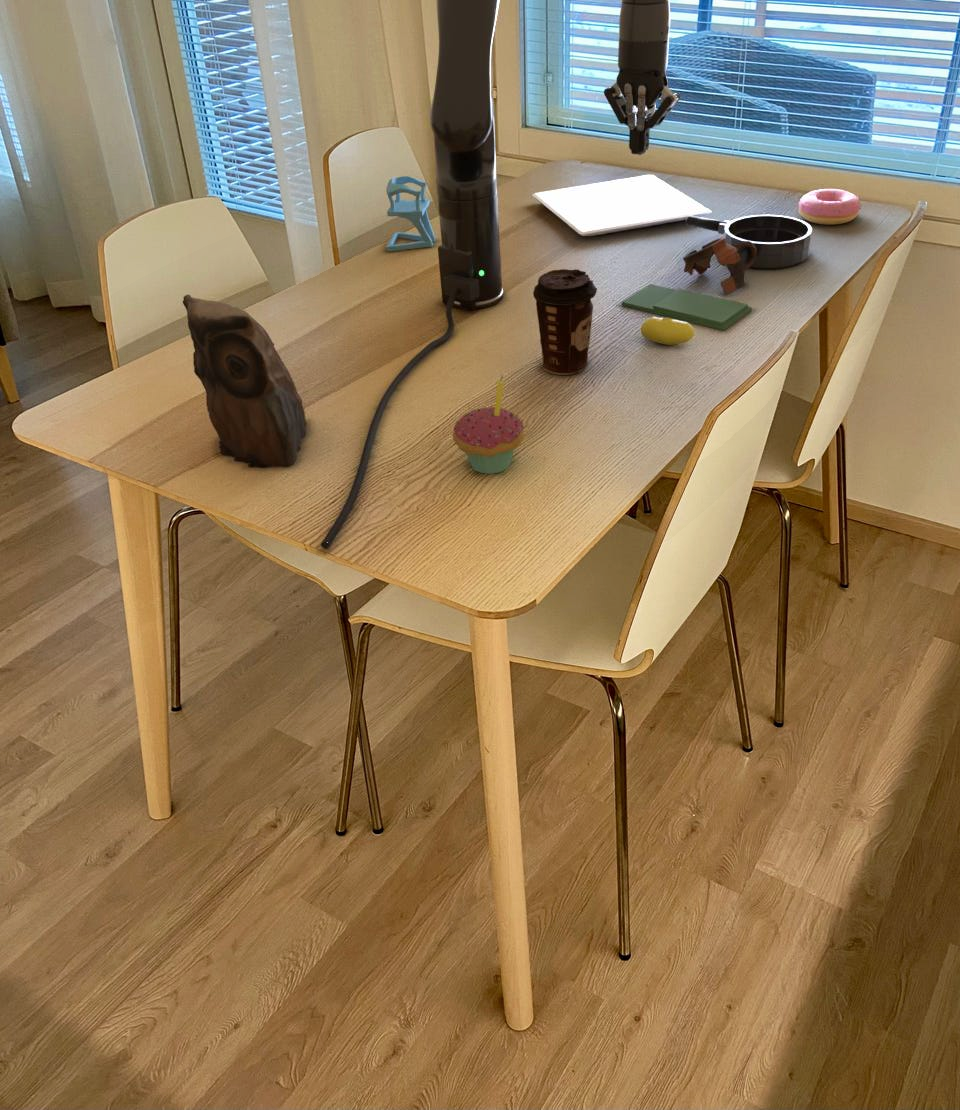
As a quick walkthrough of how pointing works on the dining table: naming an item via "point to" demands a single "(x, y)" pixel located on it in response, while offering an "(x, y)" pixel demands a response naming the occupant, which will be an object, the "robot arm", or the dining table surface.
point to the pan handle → (707, 223)
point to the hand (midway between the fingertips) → (638, 153)
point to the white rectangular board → (620, 205)
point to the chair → (410, 213)
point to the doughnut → (829, 206)
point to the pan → (771, 239)
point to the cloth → (688, 306)
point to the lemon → (666, 330)
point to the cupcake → (489, 436)
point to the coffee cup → (564, 319)
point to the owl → (245, 385)
